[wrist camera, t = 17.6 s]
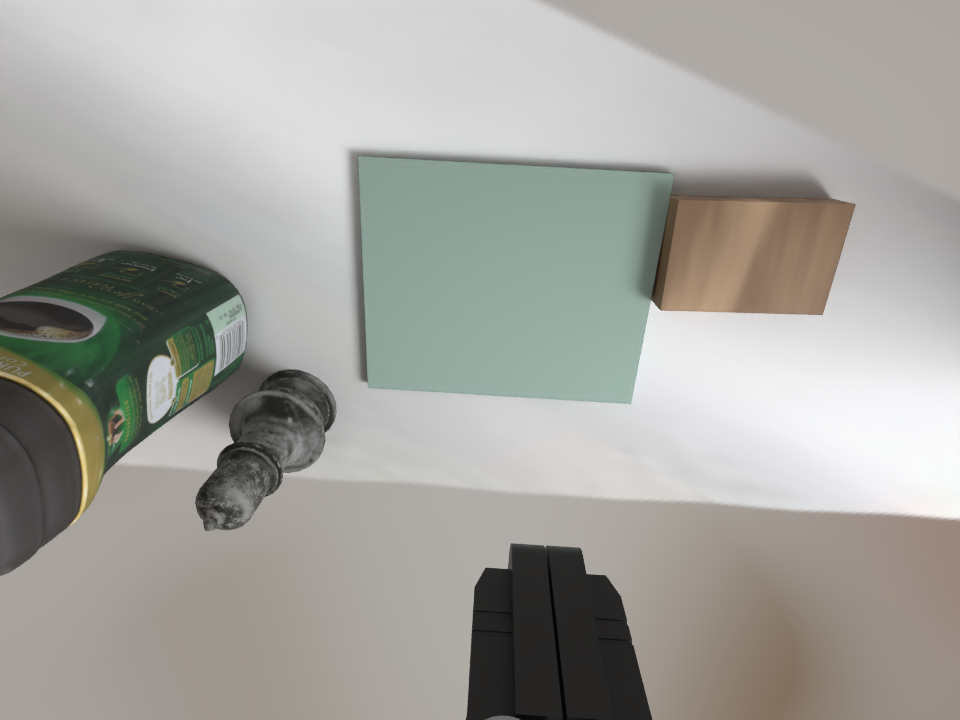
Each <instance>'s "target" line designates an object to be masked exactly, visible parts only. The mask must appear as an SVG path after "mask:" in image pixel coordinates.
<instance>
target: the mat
mask: <svg viewBox="0 0 960 720" xmlns="http://www.w3.org/2000/svg"><path fill="white" fill-rule="evenodd" d="M358 165H359V188H360V212H361V236H362V259H363V283H364V307H365V330H366V354H367V377H368V388H378V389H395V390H411V391H427V392H443V393H460V394H476V395H492V396H508V397H524V398H541V399H557V400H573V401H589V402H606V403H622V404H631V401H632V395H633V390H634V385H635V380H636V374H637V369H638V364H639V359H640V354H641V348H642V343H643V338H644V333H645V327H646V322H647V317H648V312H649V306H650V301H651V296H652V291H653V286H654V280H655V275H656V270H657V265H658V259H659V254H660V249H661V244H662V238H663V233H664V228H665V223H666V218H667V212H668V207H669V202H670V197H671V191H672V186H673V181H674V176H675V174H672V173H657V172H639V171H622V170H604V169H586V168H568V167H550V166H532V165H514V164H496V163H478V162H460V161H442V160H424V159H406V158H388V157H370V156H358Z"/></svg>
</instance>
